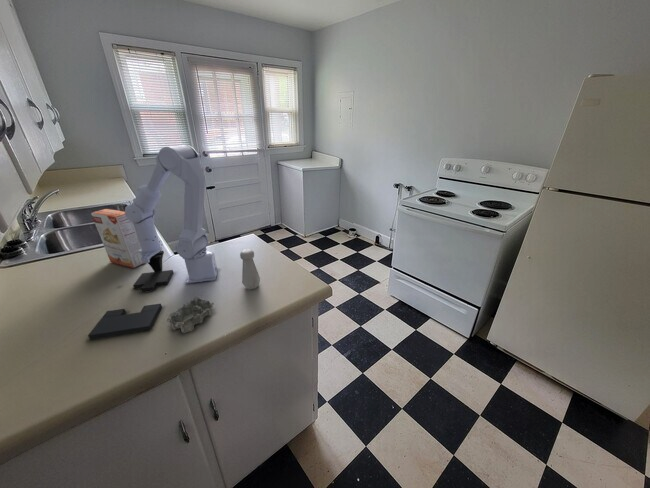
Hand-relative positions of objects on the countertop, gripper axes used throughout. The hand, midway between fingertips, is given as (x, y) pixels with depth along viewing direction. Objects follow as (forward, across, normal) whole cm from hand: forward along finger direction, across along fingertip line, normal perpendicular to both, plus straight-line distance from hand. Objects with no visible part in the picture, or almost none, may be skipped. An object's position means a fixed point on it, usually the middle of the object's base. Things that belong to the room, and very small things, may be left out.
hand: (158, 271), depth 98 cm
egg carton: (+1, +30, +17) cm, 34 cm away
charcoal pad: (+1, +27, 0) cm, 27 cm away
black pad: (+1, +6, 0) cm, 6 cm away
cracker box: (+1, -13, -15) cm, 20 cm away
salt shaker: (+1, +17, +33) cm, 37 cm away
